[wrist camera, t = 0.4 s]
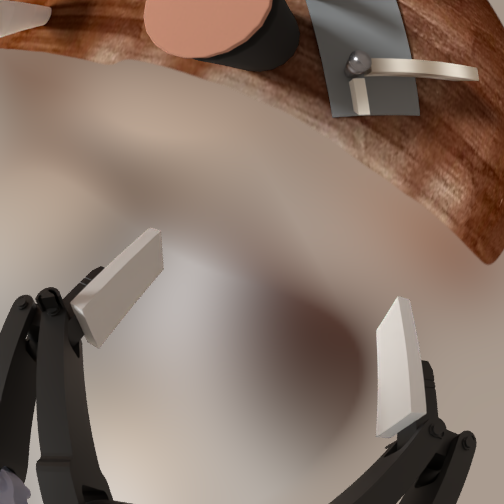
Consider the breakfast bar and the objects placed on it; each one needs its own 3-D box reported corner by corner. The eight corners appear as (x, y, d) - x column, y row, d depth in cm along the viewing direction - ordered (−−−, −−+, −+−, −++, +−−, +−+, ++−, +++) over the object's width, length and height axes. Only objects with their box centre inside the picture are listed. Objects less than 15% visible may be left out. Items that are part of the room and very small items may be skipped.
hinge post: (342, 65, 27) (347, 50, 18) (357, 64, 27) (369, 50, 17) (345, 79, 28) (351, 71, 18) (360, 78, 28) (373, 70, 18)
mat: (292, -39, 19) (291, -41, 19) (377, -43, 15) (378, -44, 15) (332, 117, 31) (332, 117, 31) (418, 115, 27) (420, 115, 27)
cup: (53, -11, 23) (-10, -9, 8) (63, 9, 27) (-7, 13, 12) (31, 22, 28) (-28, 31, 14) (40, 44, 32) (-25, 56, 17)
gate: (364, 76, 26) (372, 71, 21) (362, 65, 26) (369, 58, 20) (455, 81, 22) (479, 80, 16) (453, 70, 21) (477, 68, 16)
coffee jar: (283, -5, 23) (241, -68, 9) (312, 58, 28) (295, 25, 13) (211, 22, 27) (130, -8, 13) (238, 83, 32) (165, 81, 18)
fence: (312, -44, 18) (307, -67, 12) (321, -44, 17) (317, -68, 12) (353, 111, 30) (359, 114, 24) (362, 111, 29) (370, 114, 24)
